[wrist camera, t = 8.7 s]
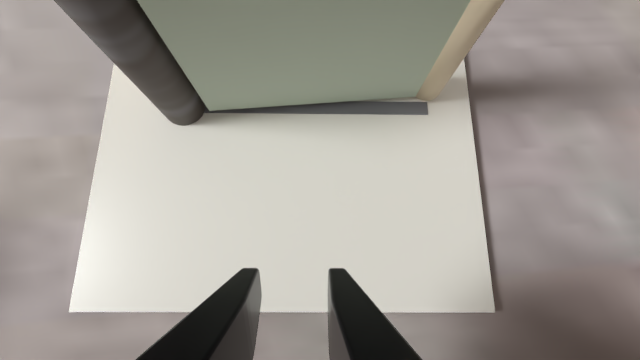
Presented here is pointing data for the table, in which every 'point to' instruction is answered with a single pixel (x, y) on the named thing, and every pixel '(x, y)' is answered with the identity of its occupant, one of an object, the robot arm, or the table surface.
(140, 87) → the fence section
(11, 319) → the table surface
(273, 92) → the pale green flat panel
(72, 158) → the table surface
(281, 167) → the board
